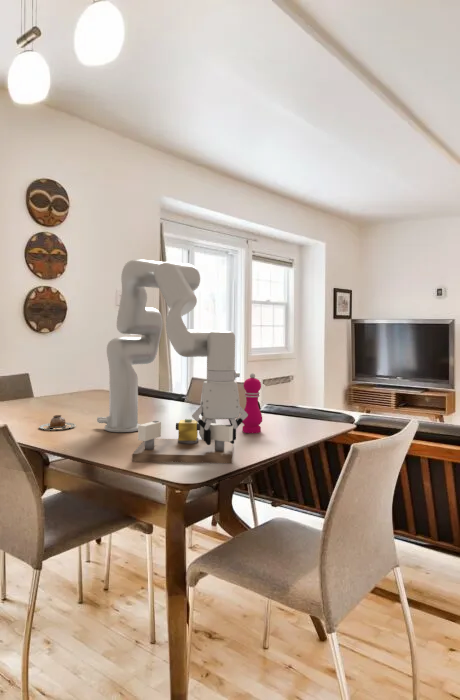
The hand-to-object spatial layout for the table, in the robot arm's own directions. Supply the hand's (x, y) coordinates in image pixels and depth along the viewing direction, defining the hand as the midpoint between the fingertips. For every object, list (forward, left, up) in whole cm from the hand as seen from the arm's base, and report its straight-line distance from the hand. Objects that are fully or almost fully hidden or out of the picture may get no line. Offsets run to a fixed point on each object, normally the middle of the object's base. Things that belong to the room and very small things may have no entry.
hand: (219, 442), depth 136 cm
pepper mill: (+9, +36, -4) cm, 38 cm away
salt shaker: (-5, +22, -4) cm, 23 cm away
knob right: (0, 0, -2) cm, 2 cm away
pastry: (-58, +37, -5) cm, 68 cm away
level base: (-10, +4, -4) cm, 11 cm away
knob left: (-19, 0, -2) cm, 19 cm away
